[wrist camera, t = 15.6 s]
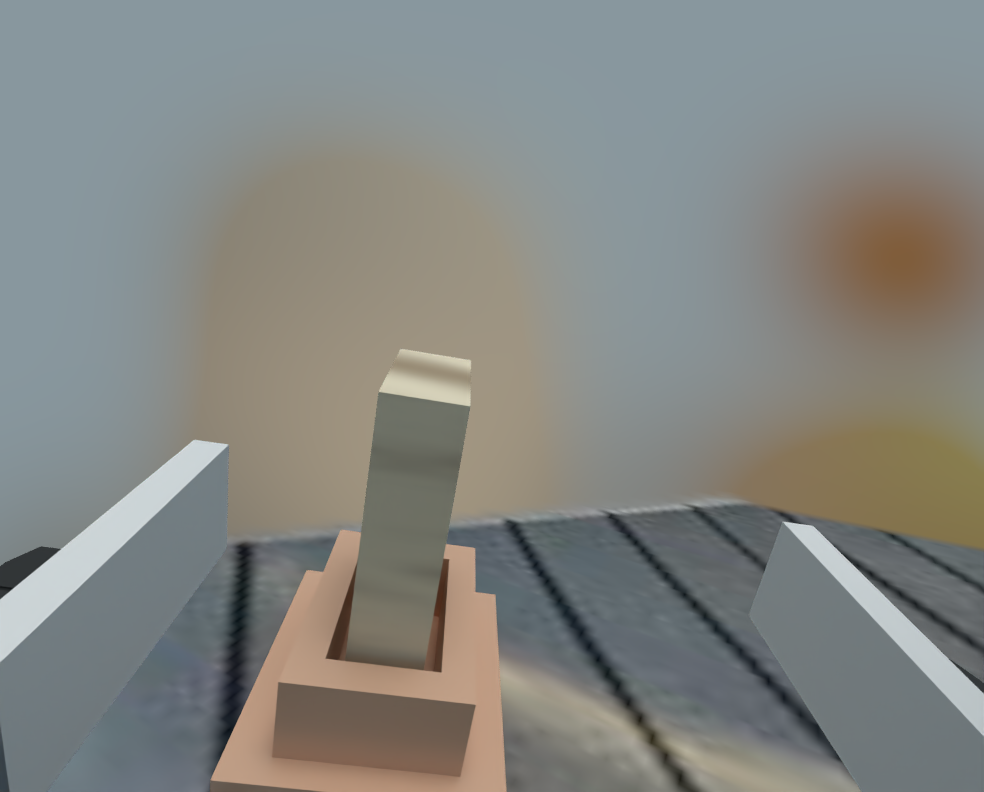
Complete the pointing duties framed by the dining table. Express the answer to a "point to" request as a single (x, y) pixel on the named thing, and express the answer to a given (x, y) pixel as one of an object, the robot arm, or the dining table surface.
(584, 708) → the dining table surface
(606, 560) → the dining table surface
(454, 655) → the pink slotted socket
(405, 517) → the mottled beige block
